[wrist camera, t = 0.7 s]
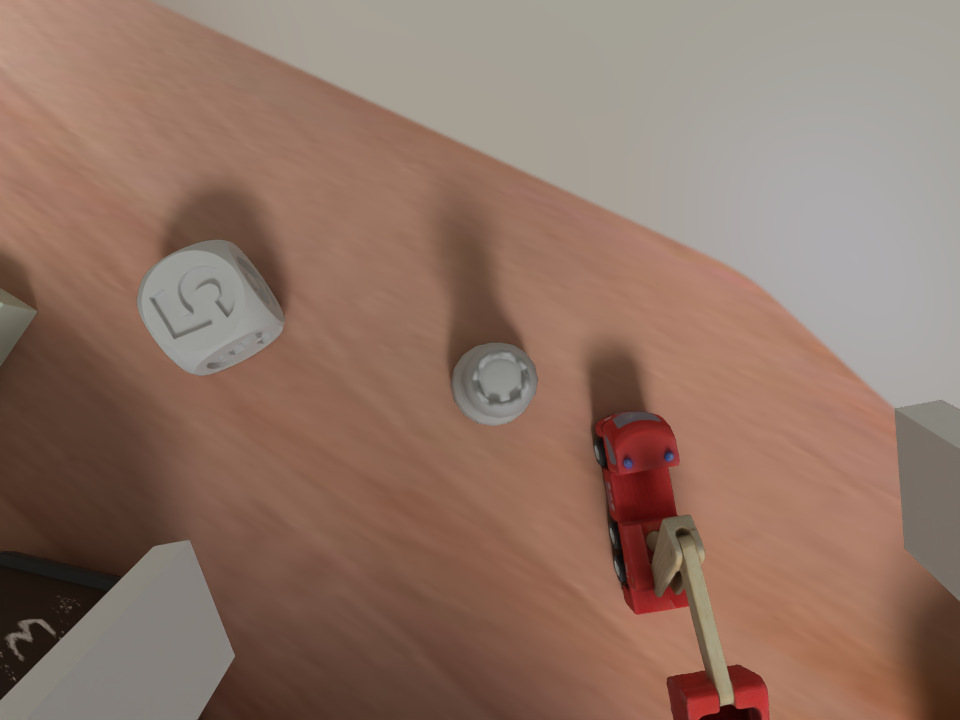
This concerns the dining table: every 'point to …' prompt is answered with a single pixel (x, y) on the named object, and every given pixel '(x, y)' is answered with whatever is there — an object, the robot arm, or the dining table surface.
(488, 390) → the rook chess piece
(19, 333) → the tower base
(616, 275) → the dining table surface
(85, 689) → the robot arm
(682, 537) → the toy fire truck
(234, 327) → the die
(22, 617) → the black bucket
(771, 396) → the dining table surface
